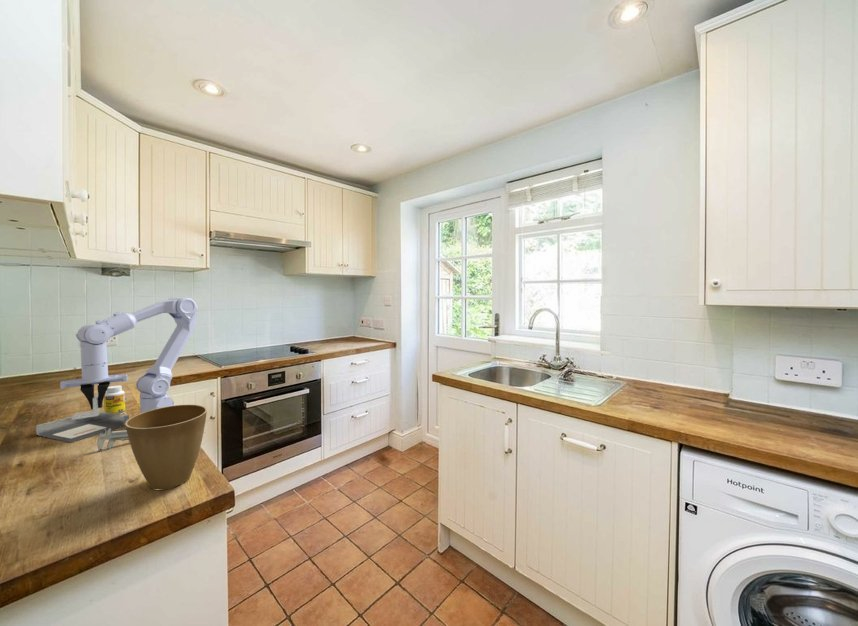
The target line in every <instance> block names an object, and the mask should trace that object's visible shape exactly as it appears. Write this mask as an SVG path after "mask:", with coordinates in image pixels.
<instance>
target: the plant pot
mask: <svg viewBox="0 0 858 626" xmlns="http://www.w3.org/2000/svg"><path fill="white" fill-rule="evenodd" d="M207 413H208V409H207V407H206V406H203V405H199V404H177V405H175V404H174V406H168V407H162V408H157V409H153V410H149V411H146V412H143V413H138V414H135V415H134V416H131V417H129V419H128V420H127V421H126V422H125V426H124V427H125V430H126V431H127V434H128V438H129V440H128V441H129V445H130V448H131V450H132V453H133V456H134V458H135V459H134V460H135V461H136V463H137V465H138V468H139V470H140V472H141V473H142V475H143V477H144V479H145V481H146V482H147V484H148V485H149V487H150V488H151V489H152V490H154V489H166V490H169V489H168V488H170V489H173V488H172V487H174V488H176V487H175V486H177V487H178V485H179V486H181V485H183V484H184V482H185V483H186V482H187V481H189V480H190V479H191V476H192V473H193V471H194V468H195V465H196V463H197V459H198V456H199V453H200V449H201V446H202V441H203V438H204V433H205V427H206V420H207V419H206V418H207ZM182 483H183V484H182ZM180 484H181V485H180Z"/></svg>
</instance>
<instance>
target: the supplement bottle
mask: <svg viewBox="0 0 858 626" xmlns="http://www.w3.org/2000/svg"><path fill="white" fill-rule="evenodd" d="M122 388H123V387H122V385H111V386H109V387H108V389H107V391H106V393H105V396H104V399H103V401H104V402H103V403H104V404H103V405H104V407H103V408H104V411H106V412H113V413H119V414H123V413H124V414H125V413H126V392H125V391H124V390H123V389H122Z"/></svg>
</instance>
